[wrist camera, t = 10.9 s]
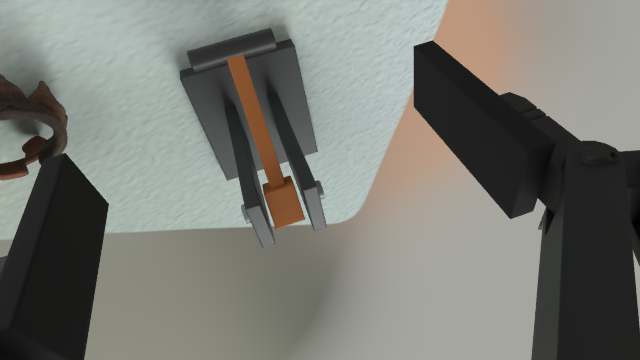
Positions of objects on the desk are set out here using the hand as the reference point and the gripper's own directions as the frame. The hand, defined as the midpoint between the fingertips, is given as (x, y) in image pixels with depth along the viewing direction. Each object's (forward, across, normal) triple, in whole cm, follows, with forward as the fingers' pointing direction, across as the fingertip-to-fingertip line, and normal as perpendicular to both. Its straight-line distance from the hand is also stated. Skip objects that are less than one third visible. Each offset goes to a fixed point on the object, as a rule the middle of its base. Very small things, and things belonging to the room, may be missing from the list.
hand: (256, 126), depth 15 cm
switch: (+11, 0, -8) cm, 14 cm away
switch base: (+20, 0, -12) cm, 24 cm away
